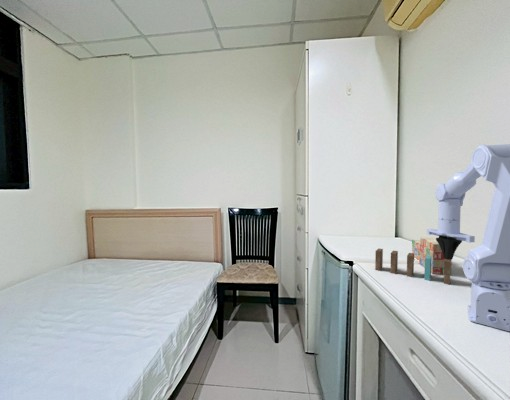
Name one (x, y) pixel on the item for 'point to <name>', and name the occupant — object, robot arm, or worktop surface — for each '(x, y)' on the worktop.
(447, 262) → the walnut domino
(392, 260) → the walnut domino
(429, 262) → the teal domino
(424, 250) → the stack of blocks
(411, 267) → the walnut domino
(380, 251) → the walnut domino
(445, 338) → the worktop surface
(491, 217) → the robot arm
